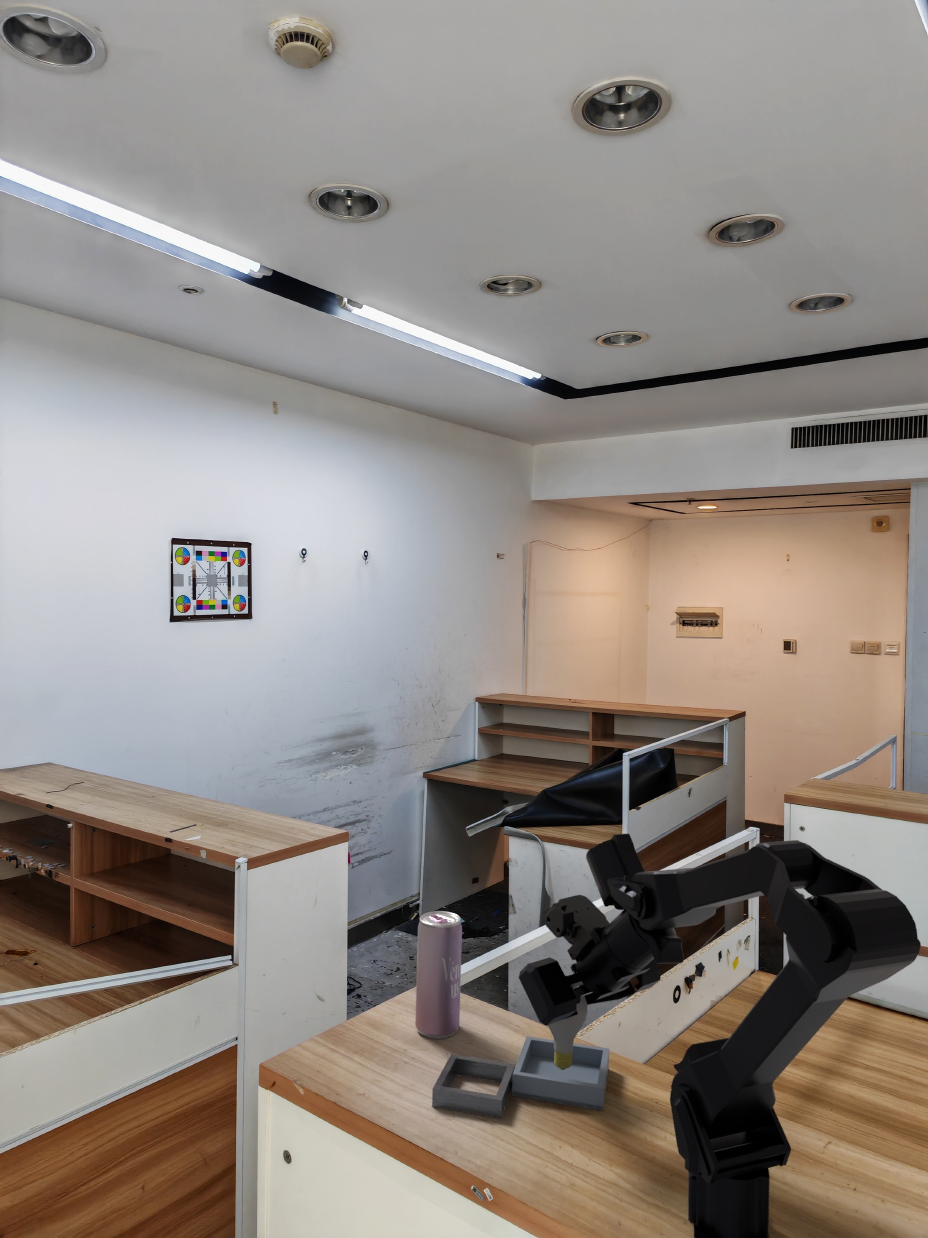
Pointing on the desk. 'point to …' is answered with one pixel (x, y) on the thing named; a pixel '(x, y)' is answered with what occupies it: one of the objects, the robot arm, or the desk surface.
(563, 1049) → the light bulb
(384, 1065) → the desk surface
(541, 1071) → the parts tray
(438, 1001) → the beverage can
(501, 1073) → the frame
